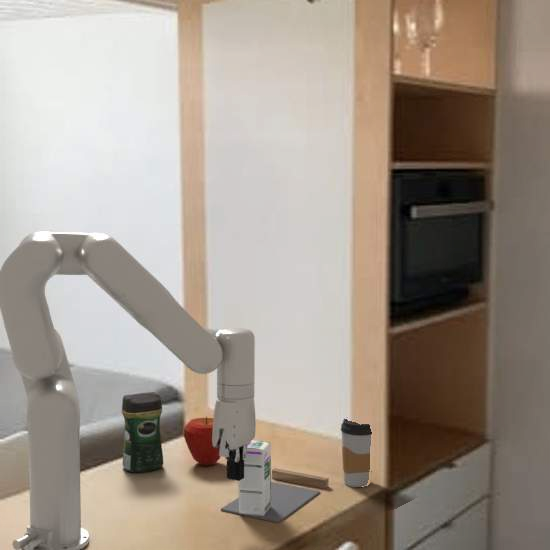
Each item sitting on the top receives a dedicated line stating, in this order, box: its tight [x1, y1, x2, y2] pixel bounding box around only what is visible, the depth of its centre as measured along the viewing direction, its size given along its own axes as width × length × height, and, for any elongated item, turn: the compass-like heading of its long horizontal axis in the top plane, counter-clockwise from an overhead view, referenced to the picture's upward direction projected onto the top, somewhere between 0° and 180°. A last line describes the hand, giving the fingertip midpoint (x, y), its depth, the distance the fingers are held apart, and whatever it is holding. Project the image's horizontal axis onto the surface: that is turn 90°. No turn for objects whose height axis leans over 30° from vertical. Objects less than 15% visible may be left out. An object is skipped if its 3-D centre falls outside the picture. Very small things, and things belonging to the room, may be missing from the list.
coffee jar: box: [121, 391, 164, 474], centre depth 214 cm, size 10×8×19 cm
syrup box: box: [237, 439, 272, 516], centre depth 187 cm, size 6×6×14 cm
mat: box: [220, 481, 321, 524], centre depth 194 cm, size 20×14×1 cm
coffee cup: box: [340, 418, 372, 488], centre depth 205 cm, size 8×8×15 cm
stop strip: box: [271, 467, 330, 489], centre depth 206 cm, size 2×14×2 cm, turn 62°
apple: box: [183, 416, 222, 466], centre depth 217 cm, size 11×11×12 cm
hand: (235, 478), depth 179 cm, fingers closed
